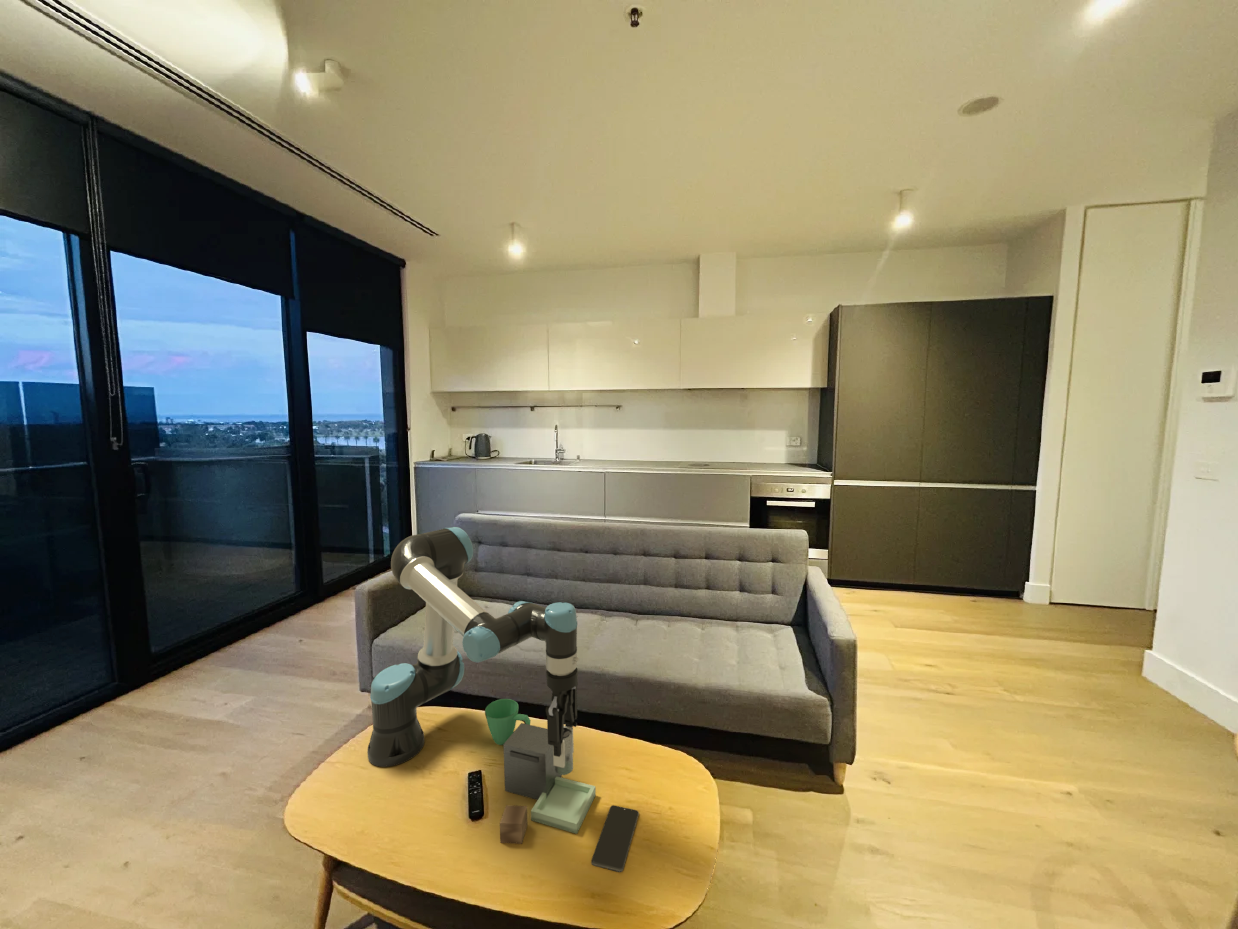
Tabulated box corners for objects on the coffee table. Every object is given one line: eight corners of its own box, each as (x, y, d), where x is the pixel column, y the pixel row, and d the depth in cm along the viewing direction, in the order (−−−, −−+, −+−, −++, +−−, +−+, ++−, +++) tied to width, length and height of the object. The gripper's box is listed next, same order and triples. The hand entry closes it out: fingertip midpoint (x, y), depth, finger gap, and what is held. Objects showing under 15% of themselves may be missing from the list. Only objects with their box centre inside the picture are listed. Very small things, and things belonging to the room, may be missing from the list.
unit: (504, 791, 124) (502, 745, 122) (523, 765, 133) (522, 721, 132) (545, 803, 120) (544, 755, 119) (562, 775, 129) (561, 730, 128)
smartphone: (590, 863, 103) (611, 804, 119) (590, 867, 103) (611, 808, 119) (622, 871, 101) (639, 810, 117) (622, 875, 101) (639, 814, 117)
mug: (479, 746, 141) (477, 714, 140) (499, 726, 150) (498, 696, 149) (521, 758, 136) (520, 726, 135) (539, 737, 145) (538, 706, 144)
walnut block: (500, 843, 109) (499, 823, 108) (506, 824, 114) (506, 805, 113) (521, 844, 109) (521, 824, 108) (527, 825, 114) (526, 806, 113)
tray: (531, 820, 115) (531, 811, 115) (553, 784, 126) (553, 775, 126) (576, 834, 111) (576, 824, 111) (595, 795, 122) (595, 786, 122)
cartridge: (552, 772, 116) (551, 735, 115) (559, 760, 120) (559, 724, 119) (568, 776, 115) (567, 739, 114) (575, 764, 119) (575, 728, 118)
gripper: (560, 690, 106) (562, 788, 108) (589, 653, 122) (591, 739, 124) (530, 684, 108) (533, 780, 110) (563, 649, 124) (564, 733, 127)
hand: (563, 758), depth 117 cm, fingers closed on cartridge, 4 cm apart
